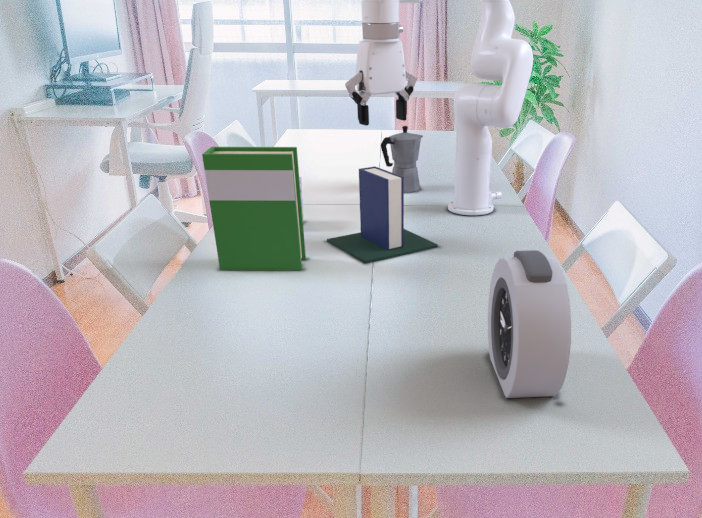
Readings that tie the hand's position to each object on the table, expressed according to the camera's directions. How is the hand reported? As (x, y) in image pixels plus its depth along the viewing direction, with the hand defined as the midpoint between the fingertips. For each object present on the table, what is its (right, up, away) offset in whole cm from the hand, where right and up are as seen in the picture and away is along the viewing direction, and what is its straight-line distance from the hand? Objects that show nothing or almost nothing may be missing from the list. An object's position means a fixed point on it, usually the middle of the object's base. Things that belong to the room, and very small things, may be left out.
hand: (382, 122), depth 145 cm
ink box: (-25, -16, +25) cm, 39 cm away
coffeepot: (+4, +3, +56) cm, 56 cm away
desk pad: (-1, -24, +13) cm, 27 cm away
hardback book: (-26, -31, +2) cm, 41 cm away
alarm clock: (+23, -57, -40) cm, 74 cm away
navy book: (-1, -23, +13) cm, 27 cm away
